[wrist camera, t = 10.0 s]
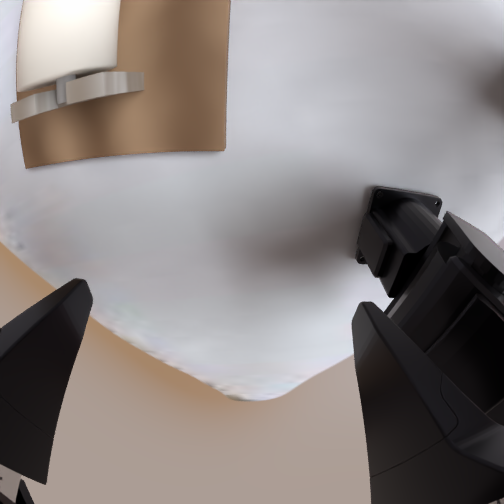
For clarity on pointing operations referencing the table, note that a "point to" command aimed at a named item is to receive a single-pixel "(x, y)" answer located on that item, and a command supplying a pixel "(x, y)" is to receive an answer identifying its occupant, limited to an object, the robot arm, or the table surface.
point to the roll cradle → (139, 90)
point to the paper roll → (65, 42)
